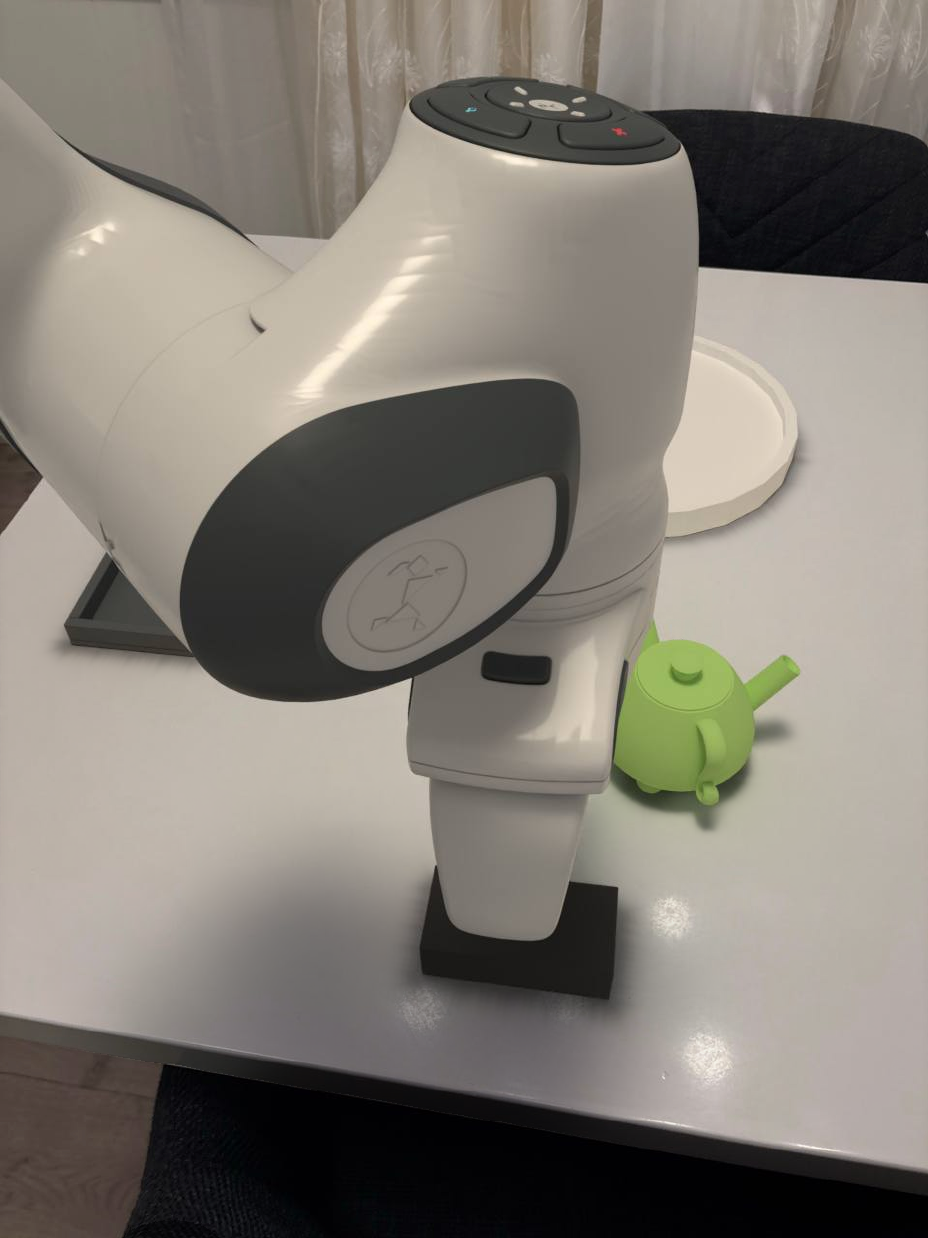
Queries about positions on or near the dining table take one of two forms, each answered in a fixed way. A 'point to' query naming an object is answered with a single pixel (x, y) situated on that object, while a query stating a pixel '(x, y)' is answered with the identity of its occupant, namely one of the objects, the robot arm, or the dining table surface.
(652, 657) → the teapot
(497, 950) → the black rectangular block
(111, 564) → the base tray
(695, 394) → the plate
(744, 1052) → the dining table surface
